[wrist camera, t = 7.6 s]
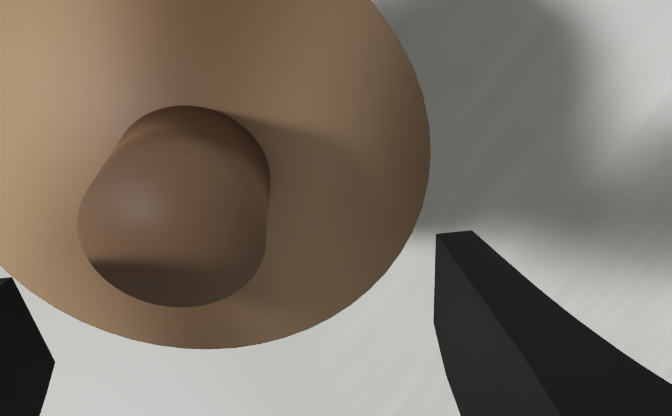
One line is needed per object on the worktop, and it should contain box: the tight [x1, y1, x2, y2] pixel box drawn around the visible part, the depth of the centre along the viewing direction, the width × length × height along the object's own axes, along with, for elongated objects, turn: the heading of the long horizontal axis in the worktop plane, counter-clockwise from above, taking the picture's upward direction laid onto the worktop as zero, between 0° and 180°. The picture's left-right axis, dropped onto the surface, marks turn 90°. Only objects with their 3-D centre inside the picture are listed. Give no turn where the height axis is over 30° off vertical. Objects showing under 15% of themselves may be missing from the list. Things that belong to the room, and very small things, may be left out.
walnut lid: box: [0, 0, 430, 349], centre depth 11 cm, size 10×10×3 cm
